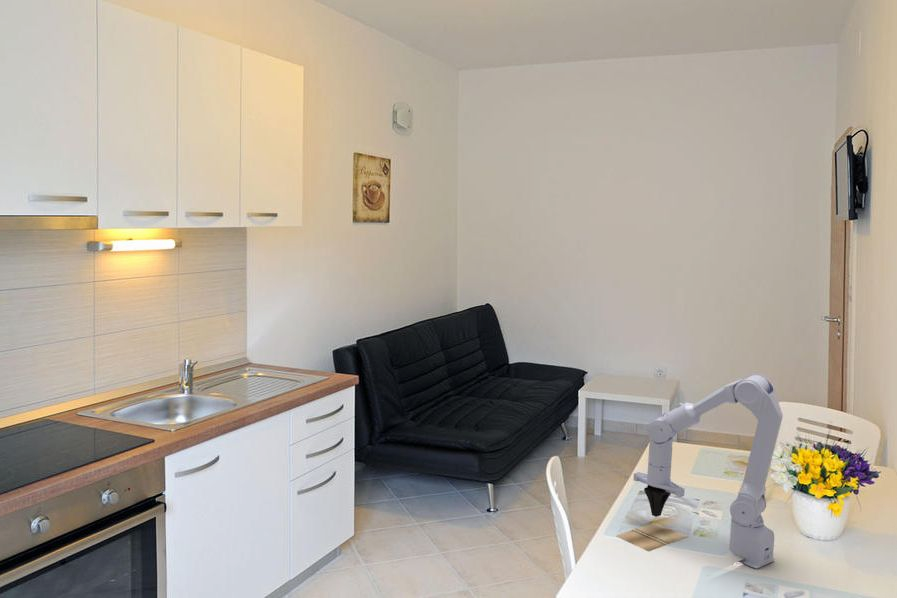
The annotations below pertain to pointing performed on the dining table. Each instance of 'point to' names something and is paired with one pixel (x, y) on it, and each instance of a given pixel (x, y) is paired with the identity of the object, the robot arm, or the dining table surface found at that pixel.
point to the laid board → (641, 540)
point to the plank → (661, 533)
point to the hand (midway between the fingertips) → (656, 515)
